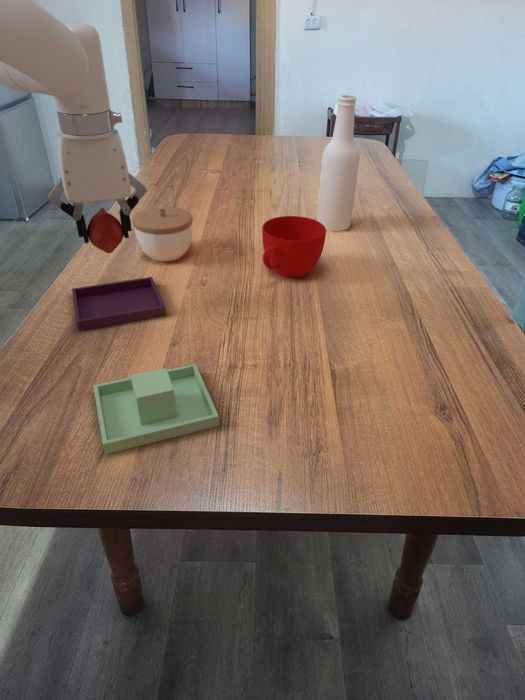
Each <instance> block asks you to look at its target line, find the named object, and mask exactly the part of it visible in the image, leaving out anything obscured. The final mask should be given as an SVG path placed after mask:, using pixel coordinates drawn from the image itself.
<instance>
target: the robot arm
mask: <svg viewBox="0 0 525 700" xmlns="http://www.w3.org/2000/svg"><path fill="white" fill-rule="evenodd" d="M101 42H102V41H101V38H100V33H99V32H98V30H97V29H96V27H95V26H94V25H93V26H92V25H90V24H88V23H83V22H82V23H80V22H61V20H59V19H58V18H57V17H55V16H54V15H53V14H52V13H50V11H48V10H46V9H45V8H44V7H42V6H41V5H40V4H38V3H37V2H36V1H34V0H0V85H1V86H3V87H5V88H7V89H11V90H15V91H20V92H26V93H33V94H41V95H45V96H46V95H47V96H52V97H53V100H54V105H55V111H56V115H57V119H58V124H59V129H60V131H58V132H56V134H55V143H56V144H55V145H56V155H57V162H58V167H59V173H60V174H59V175H60V177H59V179H58V180H57V182H56V183H55V185H54V186H53V188H52V189H51V190H50V192H49V193H48V195H47V200H48V202H49V203H50V204H52V205H53V206H55V207H57V208H59V209H60V210H61V211H62V212H63V213H65V214H67V216H69V217H71V218H72V219H73V220H74V221H75V225H76V230H77V235H78V237H79V238H83V242H84V244H89V243H90V240H89V237H88V234H87V228H88V227H87V224H86V219H85V215H84V214H83V209H84V204H87V203H95V202H96V203H97V202H106V201H115V200H116V202H117V203H118V205H119V207H120V208H119V213H118V214H119V219H120V220H119V221H120V224H121V226H122V228H123V233H124V234H123V239H124V238H125V239H129V238H130V234H129V232H132V231H133V229H132V222H131V214H132V211H133V210H134V209H135V207H136V206H137V205H138V204H139V202H140V200H141V199H142V198H143V197H144V196H145V195H146V194H147V192H148V189H147V187H146V186H145V184H143V183H142V182H141V181H140V180H138V179H137V178H136V177H135V176H134V175H132V174H131V173H130V172H129V169H128V163H127V159H126V155H125V152H124V147H123V142H122V139H121V136H120V133H119V131H118V129H116V128H115V126H116V125H118V124H120V123H123V118H122V113H121V112H115V111H113V110H111V104H110V98H109V89H108V84H107V77H106V76H107V75H106V70H105V69H106V68H105V64H104V63H105V61H104V56H103V50H102V43H101ZM131 188H133V189H134V191H133V192H132V189H131ZM63 193H64V195H65V198H66V200H67V201H66V200H64V199H63V198H62V197H61V195H63ZM126 198H127V199H126ZM69 202H70V203H69ZM71 203H72V204H71Z"/></svg>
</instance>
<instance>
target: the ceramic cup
mask: <svg viewBox="0 0 525 700" xmlns="http://www.w3.org/2000/svg"><path fill="white" fill-rule="evenodd" d="M261 229H262V230H261V236H262V247H263V255H262V262H263V265H264V267H265V268H266V269H269V270H273V271H274V272H275V273H276V274H277V275H279V276H281V277H284V278H288V279H297V278H302V277H304V276H306V275H308V273H310V272H311V271H312V270H313V269H315V267H316V265H317V264H318V263H319V261H320V259H321V256H322V254H323V251H324V247H325V243H326V237H327V236H326V235H327V230H326V228H325V226H324V225H323V224H322V223H320V222H318V221H316V219H313V218H310V217H306V216H298V215H283V216H278V217H277V216H276V217H273V218H270V219H268V220H266V221H265V222H264V223H263V224H262V228H261Z"/></svg>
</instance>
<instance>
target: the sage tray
mask: <svg viewBox="0 0 525 700" xmlns="http://www.w3.org/2000/svg"><path fill="white" fill-rule="evenodd" d="M167 371H168V374H169V377H170V380H171V383H172V385H173V388H174V394H175V403H176V412H177V417H173V418H169V419H165V420H160V421H156V422H152V423H148V424H144V425H141V423H140V419H139V415H138V411H137V408H136V404H135V399H134V393H133V387H132V382H131V376H130V377H129V376H128V377H125V378H120V379H115V380H111V381H105V382H101V383H95V384H93V386H92V387H93V393H94V399H95V405H96V412H97V417H98V423H99V424H98V425H99V430H100V435H101V442H102V447H103V451H104V454H105V455H109V454H113V453H117V452H120V451H124V450H129V449H132V448H137V447H140V446H144V445H148V444H152V443H158V442H161V441H165V440H169V439H172V438H176V437H180V436H185V435H188V434H193V433H197V432H200V431H204V430H209V429H212V428H216V427H219V426H220V415H219V413H218V411H217V409H216V407H215V404H214V402H213V400H212V398H211V397H212V396H211V395H210V393H209V390H208V388H207V386H206V384H205V382H204V378H203V377H202V375H201V373H200V372H201V371H200V370H199V368H198V365H197V363H192V364H188V365H183V366H178V367H173V368H168V369H167Z"/></svg>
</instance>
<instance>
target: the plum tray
mask: <svg viewBox="0 0 525 700" xmlns="http://www.w3.org/2000/svg"><path fill="white" fill-rule="evenodd" d="M71 294H72V300H73V306H74V313H75V321H76V326H77V329H78V331H79V332H82V331H87V330H93V329H99V328H103V327H104V328H105V327H109V326H116V325H120V324H126V323H132V322H138V321H143V320H149V319H155V318H160V317H166V316H167V313H166V306H165V304H164V302H163V299H162V297H161V294H160V291H159V290H158V287H157V285H156V282H155V280H154V278H153V276H147V277H140V278H133V279H127V280H120V281H114V282H107V283H99V284H94V285H87V286H81V287H80V286H79V287H75V288H74V287H73V288H71Z"/></svg>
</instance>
